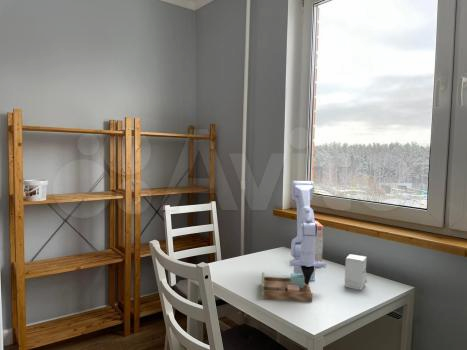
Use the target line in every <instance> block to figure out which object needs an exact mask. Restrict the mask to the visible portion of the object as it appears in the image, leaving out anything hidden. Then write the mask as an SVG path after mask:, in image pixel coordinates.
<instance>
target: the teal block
mask: <svg viewBox="0 0 467 350" xmlns="http://www.w3.org/2000/svg"><path fill="white" fill-rule="evenodd" d="M290 278H291V279H290V283H291V285H299V288H304V277H303V274H295V273H294V272H291V273H290Z"/></svg>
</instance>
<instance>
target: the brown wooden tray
mask: <svg viewBox="0 0 467 350" xmlns="http://www.w3.org/2000/svg"><path fill="white" fill-rule="evenodd" d="M290 279H291V277H276V276H273V277H272V276H265V272H261V285H260V289H261V290H260V291H261V292H260V299H263V300H277V301H280V300H281V301H293V302H294V301H295V302H296V301H297V302H307V303H308V302H311V303H312V302H313V294H314V293H313V292H312V291H311V287H310V284H309V285H306V284H305V279H304V288H299V289H300V292H287V285H291V283H290Z"/></svg>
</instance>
